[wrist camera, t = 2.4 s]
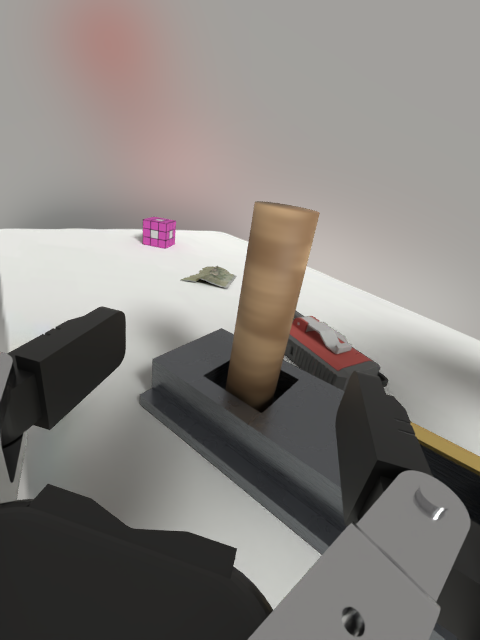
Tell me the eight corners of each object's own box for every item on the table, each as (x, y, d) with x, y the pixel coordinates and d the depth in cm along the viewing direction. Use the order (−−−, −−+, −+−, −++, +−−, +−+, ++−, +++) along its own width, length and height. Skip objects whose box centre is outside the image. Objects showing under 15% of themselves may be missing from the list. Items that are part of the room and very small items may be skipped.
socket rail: (224, 356, 34) (229, 322, 32) (550, 543, 20) (593, 502, 18) (139, 404, 26) (139, 361, 24) (596, 781, 12) (685, 750, 10)
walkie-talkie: (396, 389, 34) (285, 312, 49) (411, 355, 32) (291, 286, 47) (342, 410, 29) (238, 318, 44) (356, 373, 27) (242, 289, 42)
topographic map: (241, 272, 65) (242, 264, 64) (227, 290, 52) (228, 281, 52) (180, 262, 66) (180, 254, 66) (153, 278, 54) (153, 268, 53)
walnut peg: (242, 384, 28) (276, 202, 21) (278, 407, 26) (329, 213, 19) (213, 405, 25) (241, 200, 18) (252, 432, 23) (300, 214, 16)
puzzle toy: (174, 244, 76) (176, 220, 73) (165, 248, 71) (166, 223, 68) (153, 240, 76) (153, 216, 74) (142, 244, 71) (142, 219, 69)
